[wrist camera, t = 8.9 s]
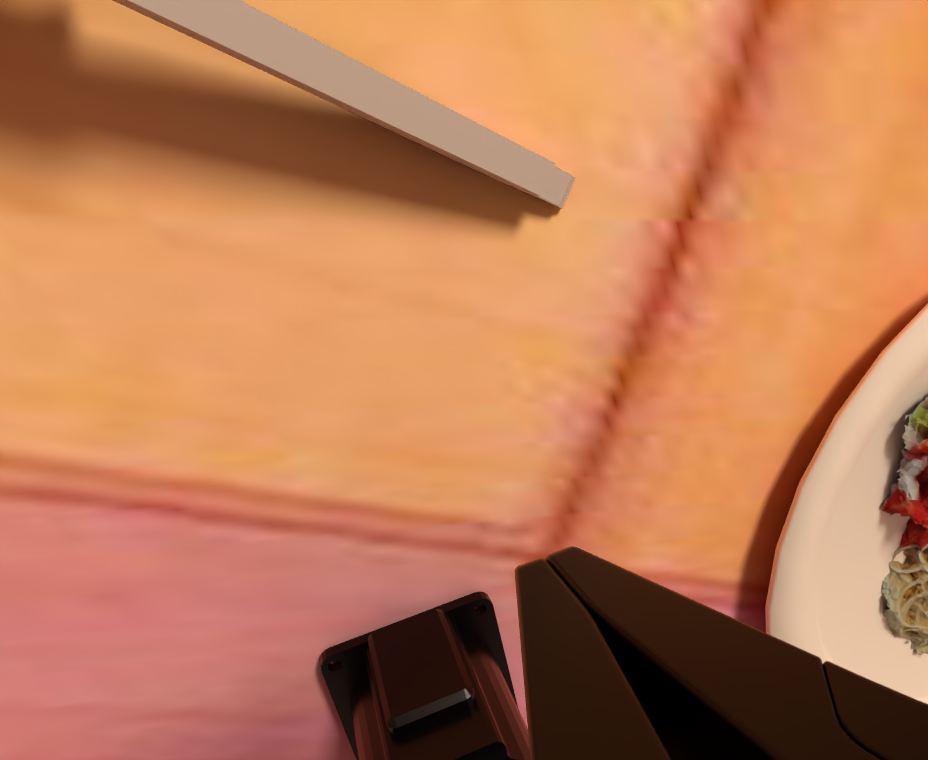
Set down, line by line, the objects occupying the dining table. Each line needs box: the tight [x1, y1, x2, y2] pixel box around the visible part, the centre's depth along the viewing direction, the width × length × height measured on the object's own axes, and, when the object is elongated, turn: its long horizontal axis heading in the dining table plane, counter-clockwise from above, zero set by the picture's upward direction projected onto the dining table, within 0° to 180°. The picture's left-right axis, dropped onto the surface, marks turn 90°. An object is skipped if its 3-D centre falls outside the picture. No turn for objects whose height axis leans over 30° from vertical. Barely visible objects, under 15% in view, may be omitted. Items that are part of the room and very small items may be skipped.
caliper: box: [113, 0, 575, 209], centre depth 14 cm, size 21×1×6 cm, turn 68°
